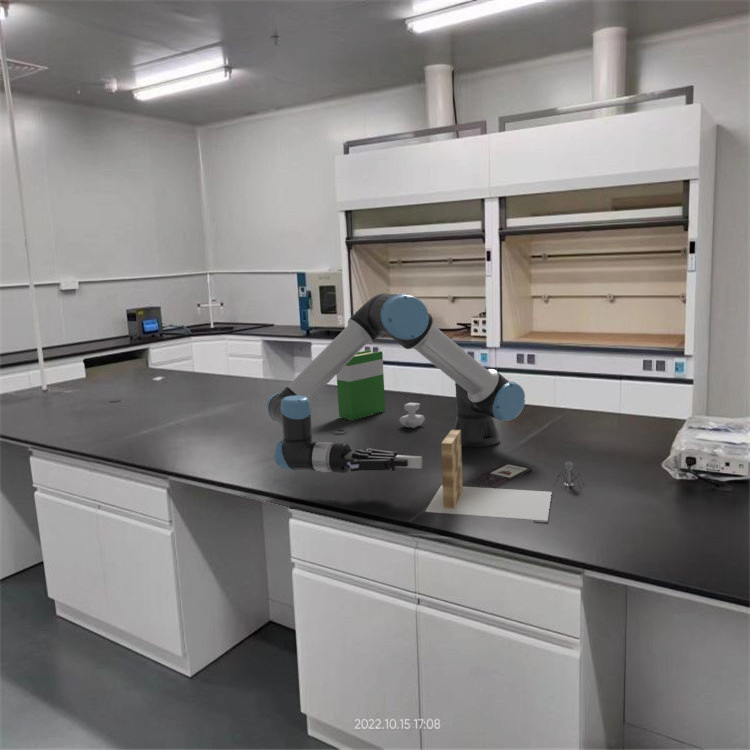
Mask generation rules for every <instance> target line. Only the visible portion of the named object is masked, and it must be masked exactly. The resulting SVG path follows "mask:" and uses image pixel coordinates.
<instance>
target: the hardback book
mask: <svg viewBox="0 0 750 750" xmlns="http://www.w3.org/2000/svg"><path fill="white" fill-rule="evenodd" d="M336 387H337V401H338V402H337V403H338V417H341V418H340V419H342V418H345V419H344V420H346V419H350V420H349V421H351V420H353V421H355V420H354V419H357V420H359V419H358V418H360V419H362V418H361V417H364V416H367V417H369V416H368V415H371V414H375V413H378V414H380V413H379V412H382V411H385V412H386V399H385V398H386V397H385V395H386V394H385V376H384V356H383V350H382V351H380V350H379V351H375V352H372V350H370V349H368V350H363V351H359V352H358V353H357V354H356V355H355V356H354V357H353V358H352V359H351V360H350V361H349V362H348V363H347V364H346V365H345V366H344V367H343V368H342V369H341V370H340V371H339V372H338V373H337V374H336ZM382 413H383V412H382ZM375 415H376V414H375ZM371 416H372V415H371ZM364 418H365V417H364Z"/></svg>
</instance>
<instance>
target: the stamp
mask: <svg viewBox="0 0 750 750" xmlns="http://www.w3.org/2000/svg"><path fill="white" fill-rule="evenodd" d="M420 406H421V403H419V402H408V403H406V404H404V405H403V408H404V411H406V412H407V413H408V414H406V415H403V416H401V417H400V418H399V422H400V424H401V425H402V426H403V427H404V426H405V427H406V428H410V427H411V428H412V429H415V428H417V427H420V426H421V425H422V424H423V423H424V422H425V419H426V417H425V416H424V415H423V414H416V412H417V410H419V409H420Z"/></svg>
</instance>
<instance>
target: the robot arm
mask: <svg viewBox="0 0 750 750" xmlns="http://www.w3.org/2000/svg"><path fill="white" fill-rule="evenodd" d="M384 335H385V336H388V337H390V338H391V339H393V341H394V342H396V343H397V344H399V345H400V346H402V347H403V348H404V349H406V350H412V349H413V350H415V351H417V352H418V353H419V354H420V355H421V356H423V357H424V358H425V359H426V360H427V361H429V362H430V363H431V364H432V365H434V366H435V367H436V368H438V369H439V371H441V372H442V373H444V375H446V376H447V377H449V378H450V379H451V380H452V381H454V386H455V404H456V409H455V410H456V420H455V422H454V427H453V428H452V430H461V447H465V448H485V447H490V446H491V447H492V446H494V445H497V444H498V443H499V442H500V432H499V429H498V427H497V425H496V422H495V419H496V420H498V421H503V422H509V421H511V420H514V419H516V418H517V417H519V415H520V414H521V412H522V411H523V409H524V407H525V404H526V400H525V398H526V393H525V390H524V388H523V387H522V386H521V385H520V384H518V383H517V382H514V381H510V380H508V379H507V378H505V377H504V376H503V375H502V374H500V373H499V372H498V371H497V370H496V369H493V368H488V369H487V368H486V367H484V366H483V365H482V364H481V363H480V362H479V361H477V359H475V358H474V357H472V356H471V355H470V354H469V353H468V352H466V351H465V349H463V348H462V347H461V346H459V345H458V344H457V343H456V342H455V341H454V340H452V339H451V338H450V337H449V336H448V335H446V334H445V333H444V332H443V331H442V330H441V329H439V328H438V327H437V326H436V325H434V317H433V316H432V315H431V314H430V313H429V312H428V308H427V307H426V305H425V303H424V302H423V301H422V300H421V299H419V298H418V297H415V296H413V295H410V294H406V293H405V294H404V293H397V294H396V293H387V292H386V293H380V294H377V295H375V296H373V297H372V298H370V299H369V300H367V301H366V302H364V304H363V305H362V306H361V307H360V308H359V309H357V311H356V312H354V314H352V316H351V317H349V319H348V320H347V326H346V327H345V328H344V329H343V330H342V331H341V332H340V333H339V334H338V335H337V336H336V337H335V338H334V339H333V340H332V341H331V342H330V343H329V344H327V346H326V347H324V348H323V350H322V351H321V352H320V353H319V354H317V356H316V357H315V358H314V359H313V360H312V361H311V362H310V363H309V364H308V365H307V366H306V367H304V369H303V370H302V371H301V372H300V373H299V374H298V375H297V376H296V377H295V378H294V379H293V380H292V381H291V382H290V383H289V384H288V385H287V386H286V387H285V388H284V389H283V390H282V391H280V393H274V394H272V395H271V396H270V397H269V398H268V400H267V401H266V407H265V410H266V413H268V414H267V415H268V416H269V417H270V418H271V419H272V421H274V422H276V423H278V424H279V425H280V426H281V427H282V436H283V437H282V440H281V441H280V440H279V442H278V443H277V444H276V446H275V448H274V452H275V453H274V461H275V464H276V465H277V467H279V468H280V469H285V470H292V471H311V472H321V473H322V474H325V473H330V472H333V473H341V474H346V473H347V472H348V471H349V469H350V472H358V471H390V470H391V471H396V468H401V469H402V468H405V469H418V470H419V469H422V468H423V456H422V455H403V454H402V455H401V454H398V451H391V450H384V449H376V448H375V449H374V448H371V447H365V448H364V450H363V449H358V448H357V449H355V450H352V448H351V447H350V445H349V444H348V443H341V442H335V443H333V442H322V441H321V442H320V441H313V436H312V435H313V434H312V417H311V416H312V415H311V413H312V411H311V410H312V408H311V404H310V402H311V401H312V400H313V399H314V397H315V396H317V394H318V393H319V392H321V391H322V390H323V389H324V387H326V386H327V385H328V384H329V383H330V382H331V380H332V379H333V378H334V377H336V376H337V373H338V372H339V371H340V370H341V369H342V368H343V367H344V366H345V365H346V364H347V363H348V362H349V361H350V360H351V359H352V358H353V357H354V356H355V355H356V354H357V353H358V352H361V350H362V349H363V348H364V347H365V346H367V345H372V344H373V343H374V342H375V341H376V340H377V339H379V338H380V337H382V336H384Z"/></svg>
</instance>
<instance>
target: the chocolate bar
mask: <svg viewBox="0 0 750 750" xmlns="http://www.w3.org/2000/svg"><path fill="white" fill-rule="evenodd" d="M532 472H533V469H531V468H526V467H522V466H517V465H512V464H507V463H502V464H500V465H499V466H496V467H493V468H491V469H489V470H487V471H486V472H483V473H481V474H480V475H477V476H475V477H473V478H471V479H469V480H467V483H471V484H476V485H480V486H482V487H486V488H496V489H499V488H500V487H502V486H503V485H505V484H507V483H509V482H511V481H513V480H515V479H517V478H518V477H521V476H522V475H528V474H530V473H532ZM527 473H528V474H527Z"/></svg>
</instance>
